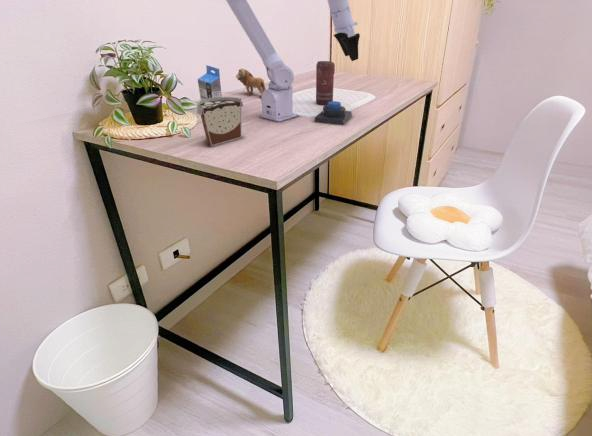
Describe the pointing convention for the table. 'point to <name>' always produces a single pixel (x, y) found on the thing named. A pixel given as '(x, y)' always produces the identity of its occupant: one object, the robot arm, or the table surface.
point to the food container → (221, 119)
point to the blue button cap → (334, 105)
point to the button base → (333, 116)
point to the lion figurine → (250, 81)
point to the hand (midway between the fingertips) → (351, 57)
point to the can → (324, 82)
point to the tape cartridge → (210, 84)
